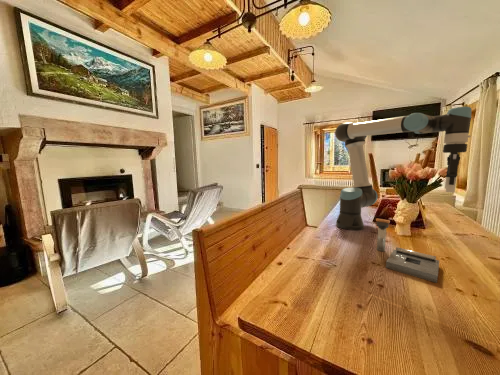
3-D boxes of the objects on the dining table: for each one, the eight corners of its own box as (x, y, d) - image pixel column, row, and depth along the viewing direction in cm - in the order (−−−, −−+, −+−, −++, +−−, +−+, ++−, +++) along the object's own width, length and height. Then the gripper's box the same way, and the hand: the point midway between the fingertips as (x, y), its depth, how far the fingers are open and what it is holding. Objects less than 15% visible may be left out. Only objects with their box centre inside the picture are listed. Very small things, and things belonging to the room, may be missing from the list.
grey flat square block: (385, 267, 75) (386, 257, 74) (393, 255, 84) (394, 245, 84) (436, 283, 65) (438, 271, 64) (438, 266, 75) (439, 256, 74)
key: (373, 249, 90) (374, 219, 88) (375, 246, 93) (377, 217, 91) (386, 253, 86) (388, 221, 84) (388, 250, 89) (390, 219, 87)
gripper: (471, 141, 78) (463, 194, 81) (464, 144, 96) (458, 188, 99) (444, 142, 83) (438, 192, 86) (443, 145, 102) (437, 186, 104)
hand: (449, 190), depth 93 cm, fingers open, 13 cm apart
